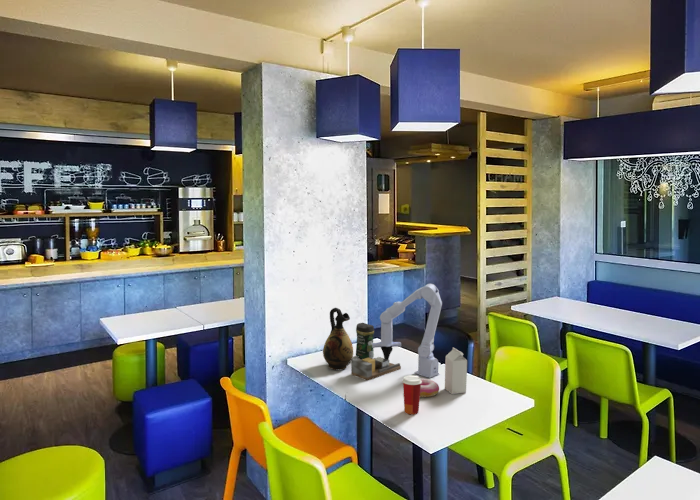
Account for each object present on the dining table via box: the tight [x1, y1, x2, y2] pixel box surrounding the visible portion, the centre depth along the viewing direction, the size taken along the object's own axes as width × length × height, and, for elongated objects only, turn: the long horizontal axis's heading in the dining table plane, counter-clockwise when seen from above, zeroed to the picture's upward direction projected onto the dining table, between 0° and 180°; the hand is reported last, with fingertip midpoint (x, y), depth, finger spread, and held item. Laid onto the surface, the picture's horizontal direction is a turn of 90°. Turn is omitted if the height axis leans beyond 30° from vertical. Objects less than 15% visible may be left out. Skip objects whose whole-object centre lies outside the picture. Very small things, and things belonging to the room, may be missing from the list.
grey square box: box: [373, 356, 390, 369], centre depth 255 cm, size 7×6×4 cm
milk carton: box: [444, 347, 468, 395], centre depth 229 cm, size 7×7×19 cm
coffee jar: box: [355, 322, 375, 360], centre depth 276 cm, size 10×8×19 cm
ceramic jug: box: [322, 307, 354, 371], centre depth 260 cm, size 17×15×30 cm
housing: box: [361, 358, 375, 372], centre depth 250 cm, size 4×4×6 cm
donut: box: [420, 378, 440, 398], centre depth 227 cm, size 14×13×5 cm
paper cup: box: [401, 374, 422, 416], centre depth 206 cm, size 8×8×14 cm
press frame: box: [350, 358, 402, 381], centre depth 253 cm, size 11×24×8 cm, turn 134°
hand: (386, 360), depth 258 cm, fingers closed
